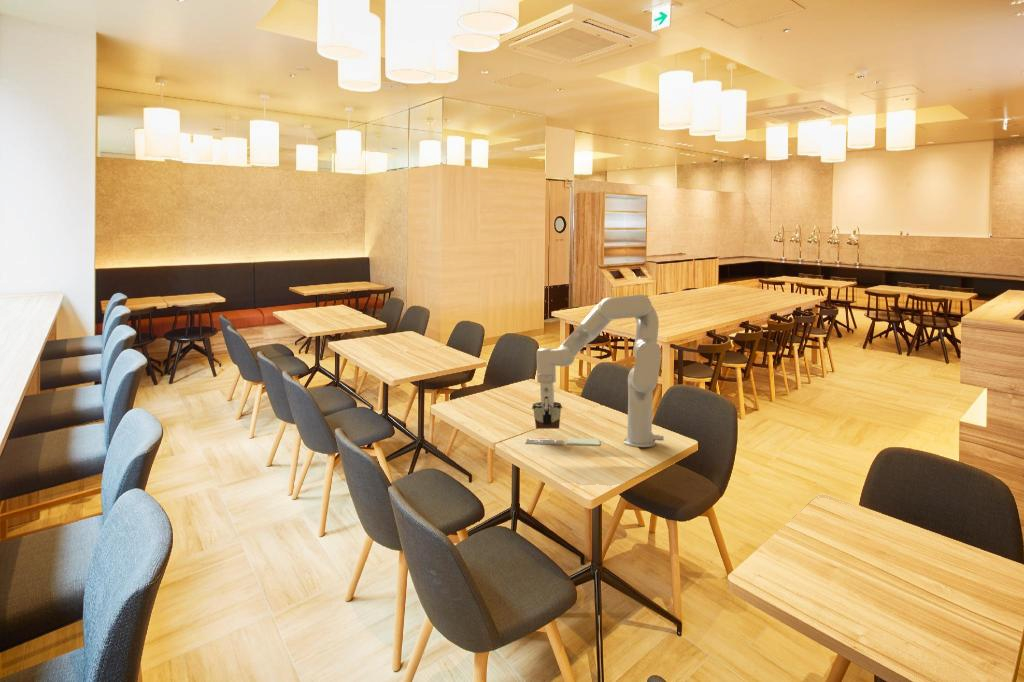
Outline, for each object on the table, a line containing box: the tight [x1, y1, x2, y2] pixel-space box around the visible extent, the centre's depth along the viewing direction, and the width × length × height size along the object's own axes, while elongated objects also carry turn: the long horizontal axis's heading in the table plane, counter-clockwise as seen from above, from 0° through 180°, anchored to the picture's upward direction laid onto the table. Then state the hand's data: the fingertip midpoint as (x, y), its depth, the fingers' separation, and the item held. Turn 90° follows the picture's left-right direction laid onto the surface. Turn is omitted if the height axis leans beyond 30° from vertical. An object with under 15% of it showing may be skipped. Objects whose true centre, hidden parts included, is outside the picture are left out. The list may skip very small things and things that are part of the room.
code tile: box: [525, 438, 564, 446], centre depth 225 cm, size 15×11×1 cm
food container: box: [531, 401, 563, 430], centre depth 225 cm, size 12×6×10 cm, turn 84°
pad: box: [566, 437, 601, 447], centre depth 225 cm, size 13×11×1 cm
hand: (547, 422), depth 225 cm, fingers closed on food container, 5 cm apart
